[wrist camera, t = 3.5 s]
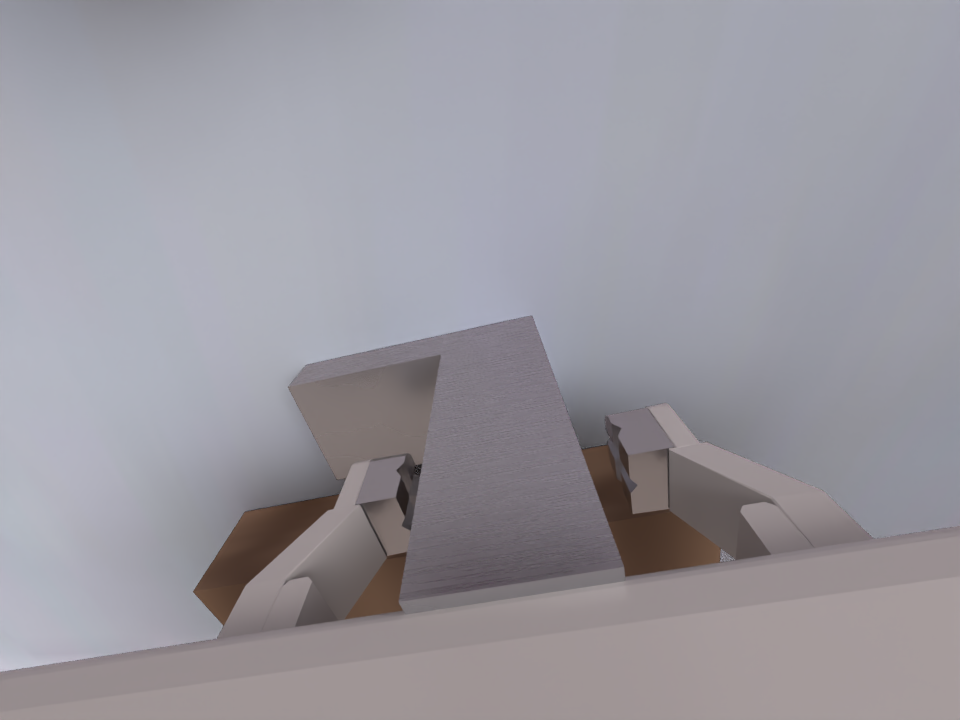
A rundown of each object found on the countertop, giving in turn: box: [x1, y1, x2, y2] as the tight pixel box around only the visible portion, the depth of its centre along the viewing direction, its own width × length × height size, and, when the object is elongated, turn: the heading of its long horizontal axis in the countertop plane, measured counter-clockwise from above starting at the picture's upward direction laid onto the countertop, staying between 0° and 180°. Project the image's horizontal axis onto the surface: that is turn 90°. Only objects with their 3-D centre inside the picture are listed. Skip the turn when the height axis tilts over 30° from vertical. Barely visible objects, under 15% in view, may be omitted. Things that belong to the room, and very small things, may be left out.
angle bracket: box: [288, 316, 625, 615], centre depth 10 cm, size 8×4×9 cm, turn 103°
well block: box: [193, 445, 721, 625], centre depth 17 cm, size 18×12×4 cm, turn 103°
